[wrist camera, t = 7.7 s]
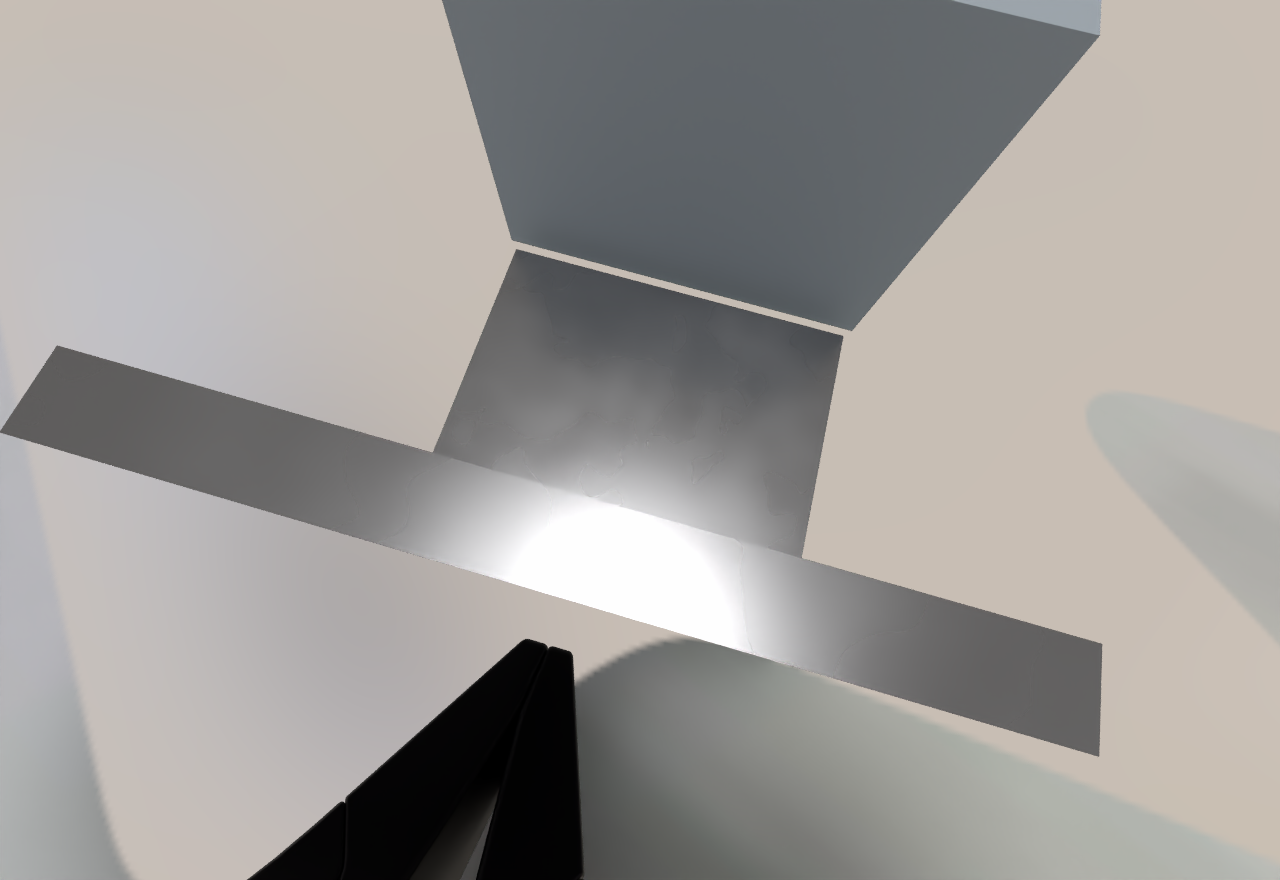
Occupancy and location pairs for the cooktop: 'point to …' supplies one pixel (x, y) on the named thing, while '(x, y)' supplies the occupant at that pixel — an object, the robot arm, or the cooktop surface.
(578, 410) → the bookend
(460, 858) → the robot arm
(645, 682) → the cooktop surface
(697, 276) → the book row
